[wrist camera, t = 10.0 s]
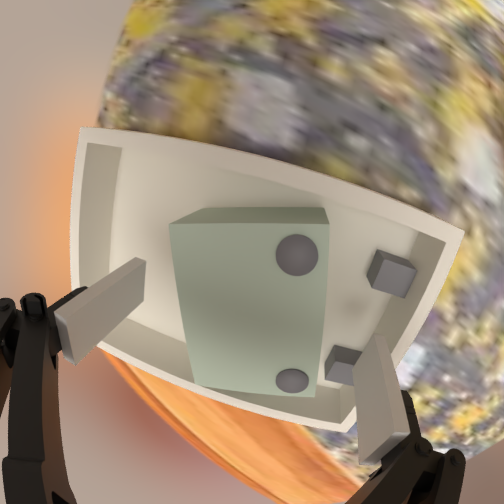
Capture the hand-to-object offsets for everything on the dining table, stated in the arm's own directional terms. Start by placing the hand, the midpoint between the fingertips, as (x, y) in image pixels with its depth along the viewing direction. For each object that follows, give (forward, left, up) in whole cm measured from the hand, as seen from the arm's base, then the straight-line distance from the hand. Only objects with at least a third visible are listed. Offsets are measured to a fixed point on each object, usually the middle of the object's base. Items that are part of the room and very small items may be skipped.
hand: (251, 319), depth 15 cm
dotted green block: (0, 0, -5) cm, 5 cm away
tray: (0, -2, -6) cm, 6 cm away
